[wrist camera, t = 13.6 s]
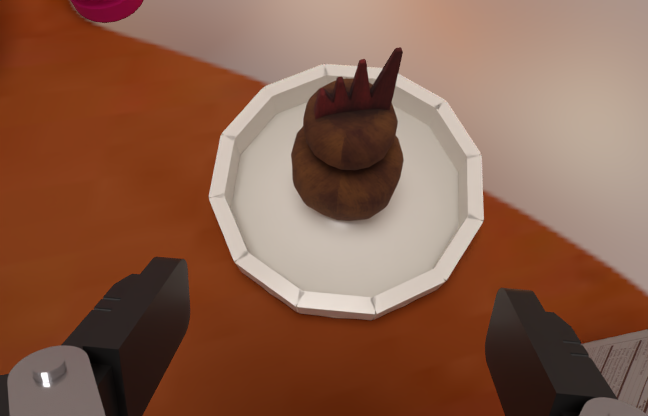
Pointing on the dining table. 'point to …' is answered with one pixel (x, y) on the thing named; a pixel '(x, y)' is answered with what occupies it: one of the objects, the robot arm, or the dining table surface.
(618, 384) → the supplement box
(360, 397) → the dining table surface
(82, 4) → the pepper mill
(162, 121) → the dining table surface
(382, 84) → the wooden figurine
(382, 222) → the ceramic dish
